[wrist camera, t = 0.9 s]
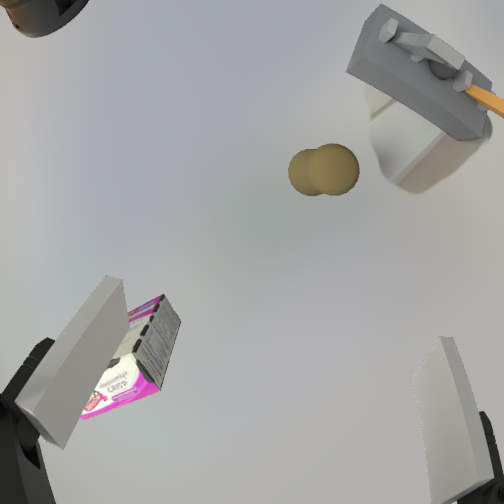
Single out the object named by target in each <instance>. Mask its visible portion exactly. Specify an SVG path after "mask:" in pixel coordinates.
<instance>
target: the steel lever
mask: <svg viewBox="0 0 504 504" xmlns="http://www.w3.org/2000/svg"><path fill="white" fill-rule="evenodd" d="M390 40H392V42H394V43H396V44H397V45H399V46H401V47H402V48H404V49H405V50H407V51H409V52H410V53H412V54H415V55H419V56H422V57H425V58H428V59H431V60H434V61H437V62H440V63H443V64H446V65H447V66H449V67H451V68H454V69H457V70H459V69H460V67H461V65H462V63H463V62H464V60H465V57H464V56H463V55H461V54H460V53H459V52H458V51H456V50H455V49H454V48H452V47H451V46H450V45H448V44H447V43H445V42H444V41H443V40H441V39H440V38H439V37H437V36H436V35H434V34H428V33H425V34H415V33H406V32H396V33H395V35H394V36H393V37H391V38H390Z"/></svg>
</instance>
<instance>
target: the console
mask: <svg viewBox="0 0 504 504" xmlns="http://www.w3.org/2000/svg"><path fill="white" fill-rule="evenodd" d="M396 32H406V33H415V34H425V33H428V32H427V31H425V30H424V29H422V28H421V27H419V26H418V25H416V24H415V23H413V22H412V21H410V20H408V19H407V18H405V17H404V16H402V15H400V14H399V13H397V12H395V11H393V10H392V9H390V8H388V7H386V6H385V5H383V4H380V5H379V6H378V7H377V9H376V10H375V11H374V12H373V13H372V14H371V15H370V16H369V17H368V19H367V20H366V21H365V23H364V25H363V28H362V31H361V34H360V36H359V39H358V41H357V44H356V47H355V49H354V52H353V54H352V57H351V60H350V62H349V65H348V67H347V70H346V72H347V73H349V74H351V75H353V76H355V77H356V78H358V79H360V80H362V81H364V82H366V83H368V84H370V85H371V86H373V87H375V88H377V89H378V90H380V91H382V92H384V93H385V94H387V95H389V96H391V97H392V98H394V99H396V100H397V101H399V102H401V103H402V104H404V105H405V106H407V107H409V108H410V109H412V110H413V111H415V112H416V113H418V114H420V115H421V116H423V117H424V118H426V119H427V120H429V121H430V122H431V123H433V124H434V125H436V126H437V127H439V128H440V129H442V130H443V131H444V132H446V133H447V134H449V135H450V136H451V137H453V138H454V139H455V140H457V141H459V140H467V139H475V138H482V133H483V129H484V124H485V120H486V115H487V110H490V109H488V108H487V107H485V106H483V105H482V104H480V103H478V102H477V101H476V100H475V99H474V98H472V97H471V96H470V95H469V94H468V93H466V92H465V91H464V90H466V89H469V88H470V87H471V83H472V84H474V85H476V86H478V87H480V88H482V89H484V90H486V91H488V92H490V93H492V94H494V95H496V94H495V93H494V92H493V91H491V87H492V82H491V81H490V80H489V79H487V78H486V77H485V76H484V75H483V74H482V73H481V72H479V71H478V70H477V69H476V68H475V67H473V66H472V65H471V64H470V63H469V62H467V61H466V60H464V62H463V63H462V65H461V67H460V72H459V74H458V75H456V76H454V77H451V78H449V79H446V80H440V79H438V78H437V77H435V76H434V75H433V73H432V72H431V70H430V68H429V64H428V61H429V59H428V58H425V57H422V56H419V55H415V54H412V53H410V52H409V51H407V50H405V49H404V48H402V47H401V46H399V45H397V44H396V43H394V42H392V40H390V38H391V37H393V36H394V35H395V33H396ZM428 34H430V33H428Z"/></svg>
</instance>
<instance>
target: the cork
mask: <svg viewBox="0 0 504 504" xmlns="http://www.w3.org/2000/svg"><path fill="white" fill-rule="evenodd" d="M288 173H289V179H290V181H291V184H292V185H293V187H294V188H295V189H296V190H297V191H299V192H300V193H302V194H304V195H307V196H317V195H320V194H323V193H325V194H328V195H342V194H344V193H347V192H348V191H349V190H350V189H351V188H353V187H354V185H355V184H356V182H357V181H358V177H359V164H358V161H357V158H356V157H355V155H354V154H353V152H352V151H350V150H349V149H348V148H346V147H345V146H342V145H339V144H327V145H323V146H321V147H319V148H318V149H306V150H304V151H300V152H299V153H298V154H296V155H295V156H294V157H293V159H292V160H291V162H290V165H289V169H288Z"/></svg>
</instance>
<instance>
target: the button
mask: <svg viewBox="0 0 504 504" xmlns="http://www.w3.org/2000/svg"><path fill="white" fill-rule="evenodd" d="M428 64H429V68H430V70H431V72H432V73H433V75H434V76H435V77H437V78H438V79H440V80H446V79H449V78H451V77H454V76H456V75H458V74H459V72H460V69H459V70H457V69H454V68H451V67H449V66H447V65H446V64H443V63H440V62H437V61H434V60H431V59H429V61H428Z"/></svg>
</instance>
